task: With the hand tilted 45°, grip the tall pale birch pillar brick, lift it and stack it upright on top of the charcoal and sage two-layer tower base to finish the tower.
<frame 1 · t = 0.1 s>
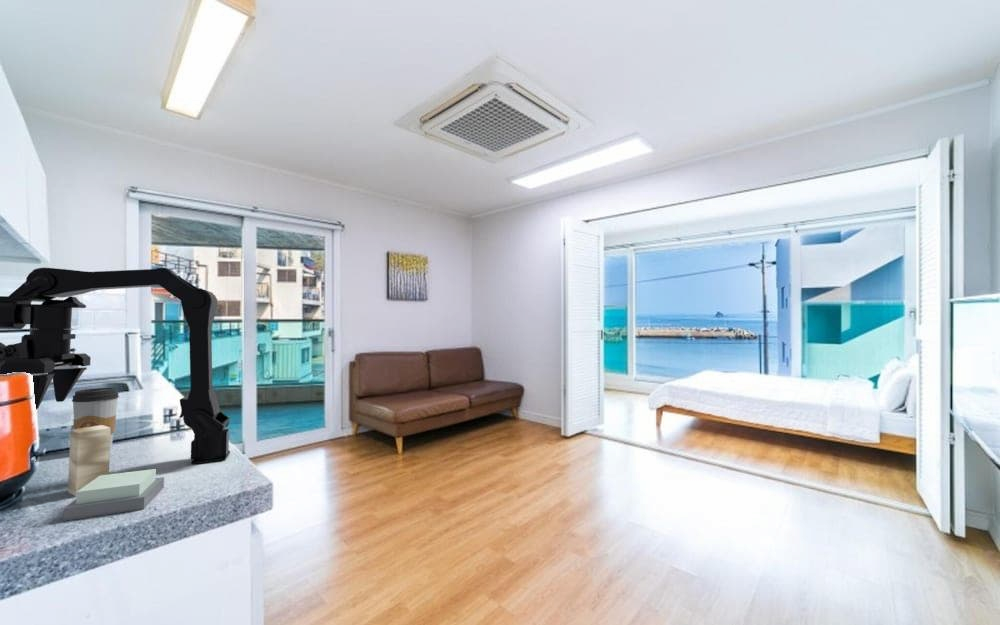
hand: (47, 405, 82), 15 cm above the counter, tool pointing down, fingers open, 9 cm apart
coffee cup: (93, 451, 100), on the counter
tower base: (118, 502, 70), on the counter
pillar: (88, 490, 76), on the counter
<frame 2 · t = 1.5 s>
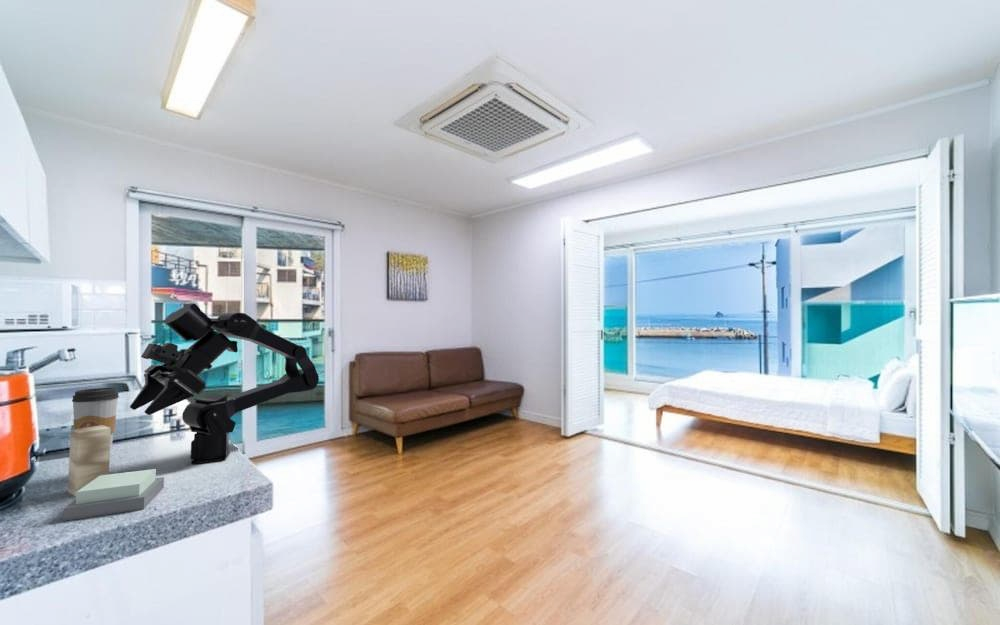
hand: (138, 411, 83), 13 cm above the counter, tool tilted 45°, fingers open, 9 cm apart
nothing on the counter moved.
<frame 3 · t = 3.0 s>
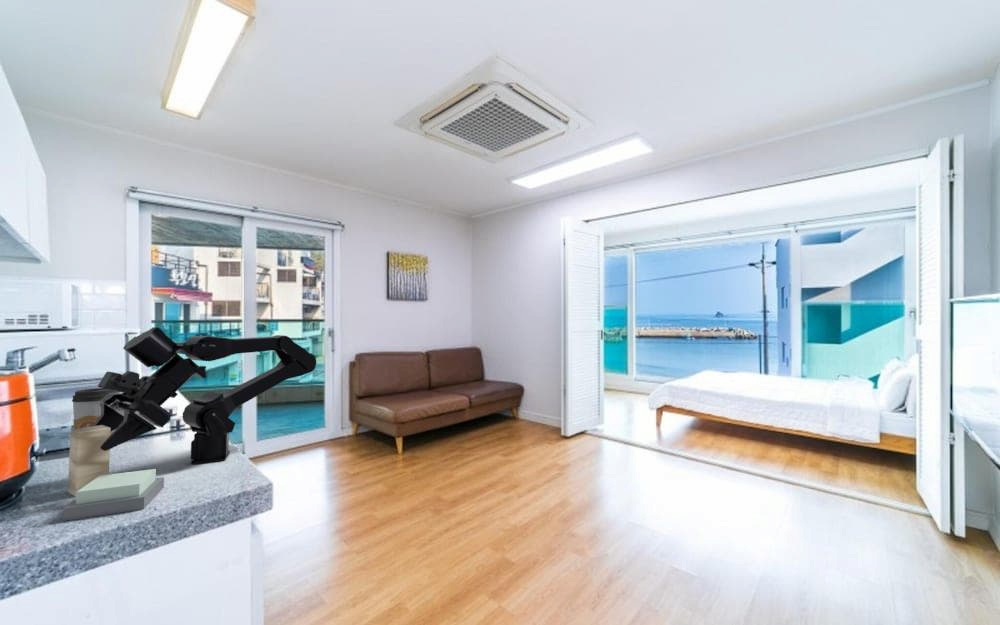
hand: (93, 445, 77), 8 cm above the counter, tool tilted 45°, fingers open, 9 cm apart
nothing on the counter moved.
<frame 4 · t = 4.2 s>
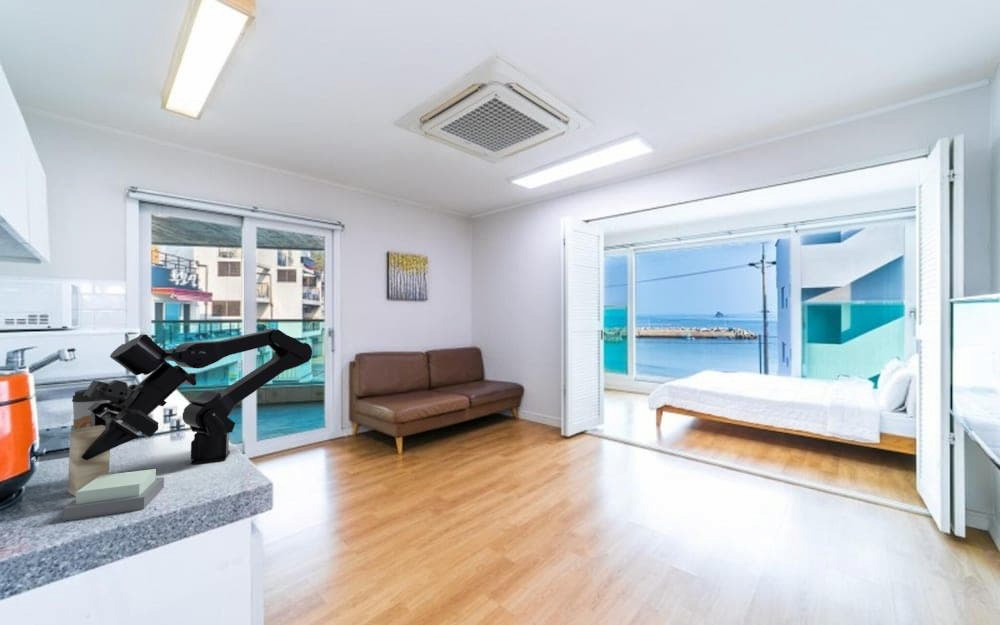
hand: (79, 456, 75), 7 cm above the counter, tool tilted 45°, fingers closed on pillar, 4 cm apart
pillar: (88, 490, 76), on the counter, touching gripper
everything else where it was.
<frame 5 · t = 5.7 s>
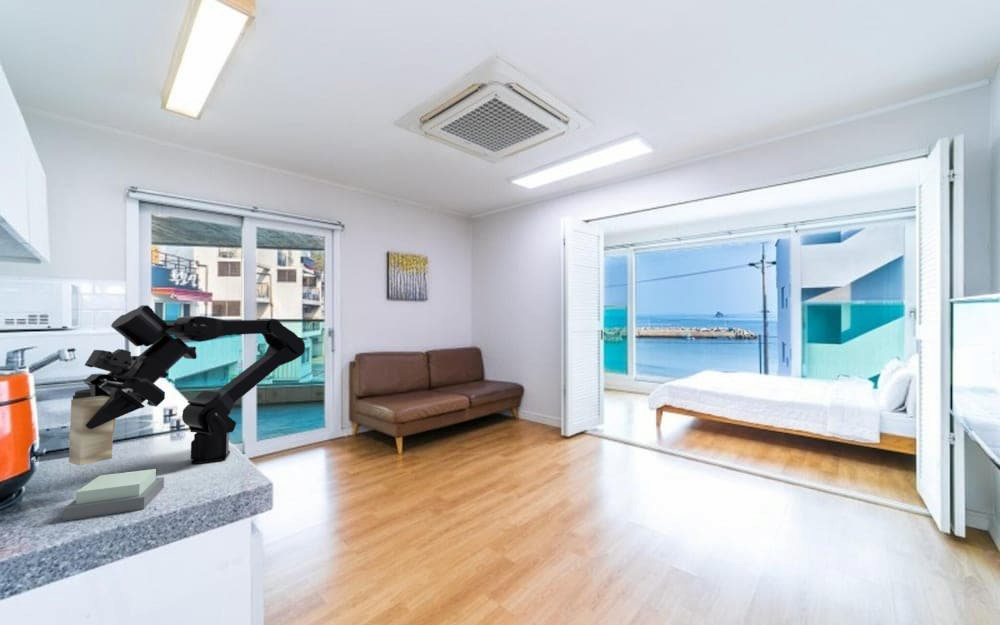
hand: (81, 426, 74), 13 cm above the counter, tool tilted 45°, fingers closed on pillar, 4 cm apart
pillar: (90, 460, 75), point 6 cm above the counter, touching gripper
everything else where it was.
when the fingers open (11 cm above the counter, at t = 7.1 s): pillar stays where it is, resting on tower base.
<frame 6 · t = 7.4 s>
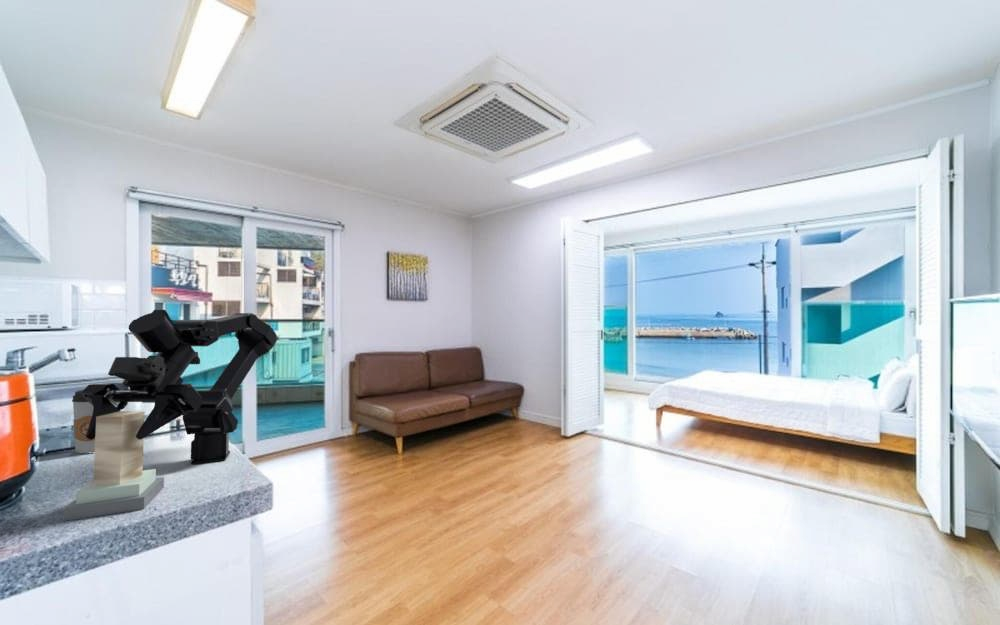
hand: (113, 438, 69), 12 cm above the counter, tool tilted 45°, fingers open, 8 cm apart
pillar: (118, 479, 71), point 4 cm above the counter, touching tower base
everything else where it was.
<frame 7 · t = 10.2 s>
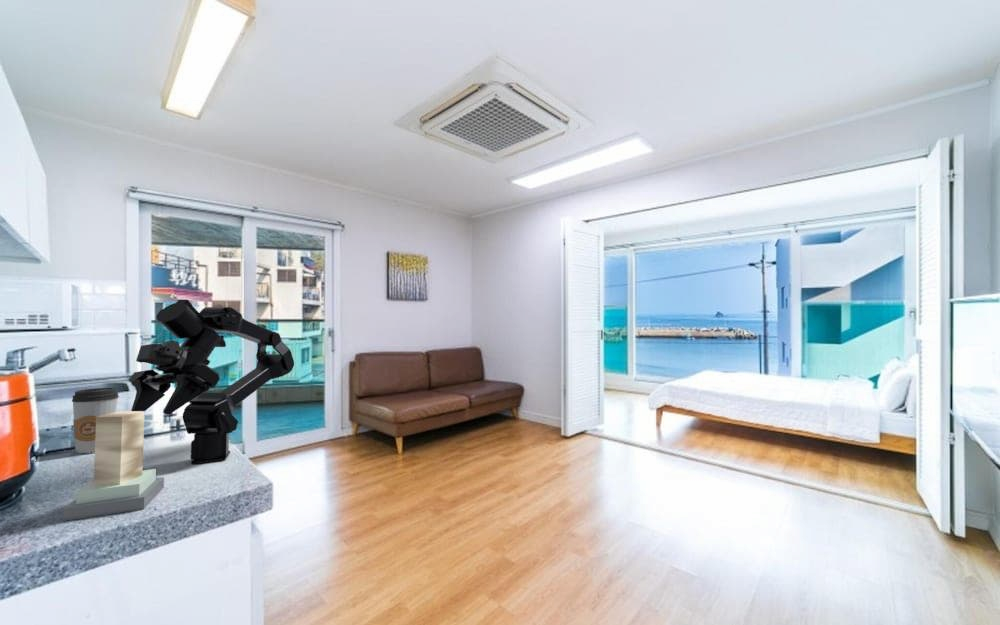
hand: (148, 415, 79), 13 cm above the counter, tool tilted 40°, fingers open, 9 cm apart
nothing on the counter moved.
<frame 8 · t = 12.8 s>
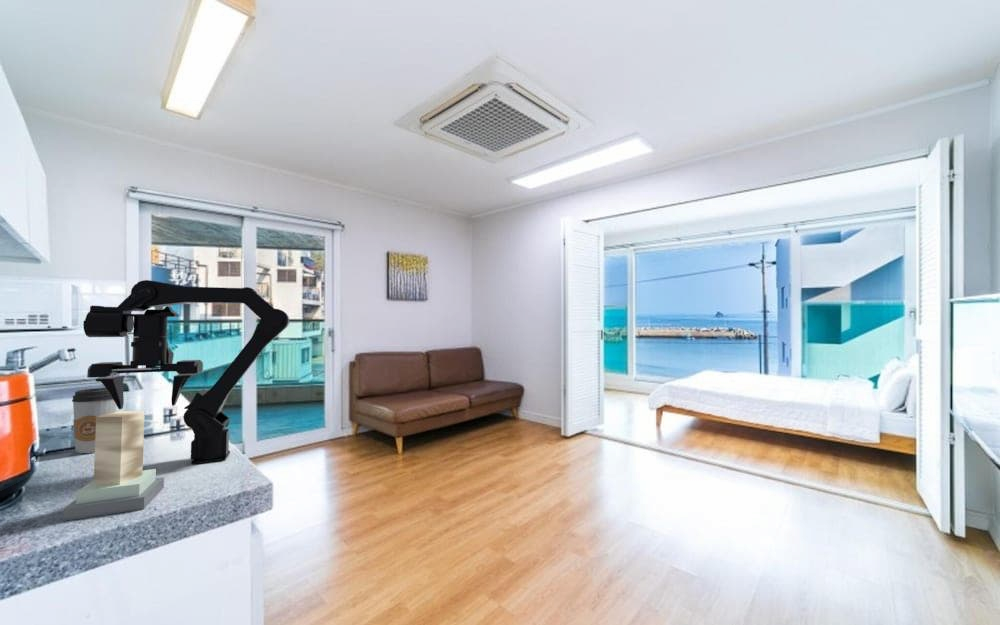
hand: (147, 407, 89), 13 cm above the counter, tool pointing down, fingers open, 9 cm apart
nothing on the counter moved.
at the end: pillar 0.1 cm from the tower base (horizontally); pillar point 4.0 cm above the counter; pillar tilted 0° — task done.
